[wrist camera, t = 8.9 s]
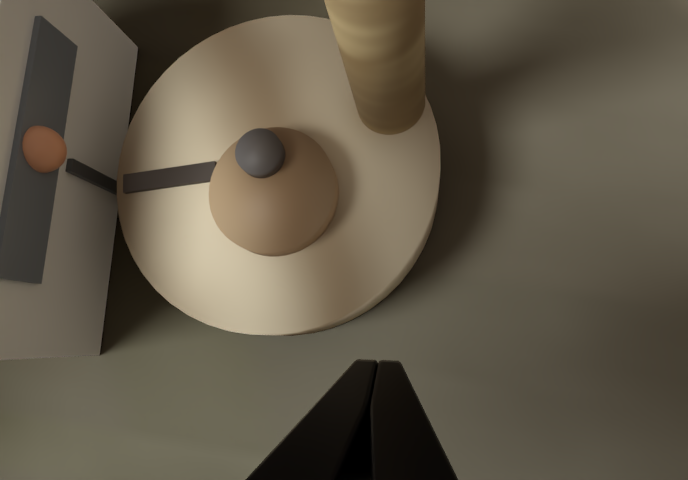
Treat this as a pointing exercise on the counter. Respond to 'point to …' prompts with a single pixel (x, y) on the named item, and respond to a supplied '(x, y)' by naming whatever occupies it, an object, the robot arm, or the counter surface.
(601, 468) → the counter surface
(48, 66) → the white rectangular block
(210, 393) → the counter surface
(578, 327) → the counter surface
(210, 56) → the cam dial
